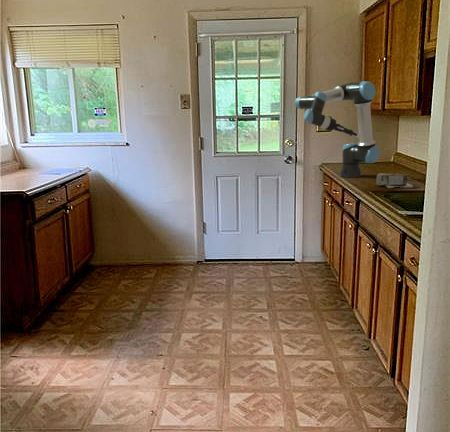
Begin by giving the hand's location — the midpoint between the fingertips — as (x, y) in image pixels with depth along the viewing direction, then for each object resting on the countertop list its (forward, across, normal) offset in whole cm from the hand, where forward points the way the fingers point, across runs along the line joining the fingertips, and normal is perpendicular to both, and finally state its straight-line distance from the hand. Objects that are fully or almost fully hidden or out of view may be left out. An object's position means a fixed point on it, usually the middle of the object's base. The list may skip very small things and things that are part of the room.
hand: (360, 136), depth 284 cm
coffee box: (+18, +10, -20) cm, 29 cm away
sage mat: (+29, +12, -20) cm, 37 cm away
